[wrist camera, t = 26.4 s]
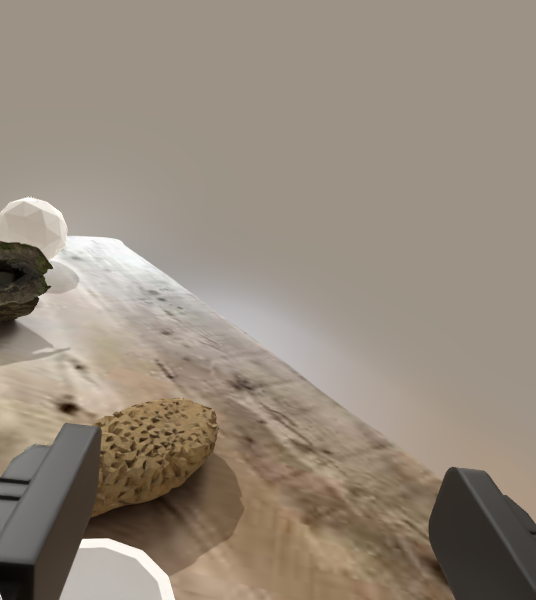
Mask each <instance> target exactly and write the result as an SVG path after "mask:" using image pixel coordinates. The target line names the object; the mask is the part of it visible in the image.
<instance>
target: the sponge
mask: <svg viewBox="0 0 536 600" xmlns="http://www.w3.org/2000/svg"><path fill="white" fill-rule="evenodd" d="M113 415H114V416H105V417H103V418H101V419H100V420H98V421H97V422H96V423H95V424H94V425H92V426H96V427H101V430H102V438H101V452H100V466H99V480H98V490H97V495H96V500H95V504H94V508H93V511H92V514H91V517H95V516H98V515H100V514H102V513H105V512H107V511H110V510H112V509H114V508H119V507H122V506H125V505H131V504H139V503H143V502H147V501H150V500H153V499H155V498H158V497H160V496H162V495H164V494H166V493H169V491H170V490H171V489H172V488H176V487H178V486H181V485H182V484H183V483H184V482H185V481H186V479H187V478H189V477H190V476H191V475H192V474H193V473H194V472H195V471H196V470H197V469H198V468H199V467H200V466H202V465H203V464H204V463H205V461H206V459H207V457H208V456H209V455H210V453H211V452H213V450H214V446H215V442H216V439H217V433H218V429H219V428H218V427H217V426H218V425H216V424H217V423H216V414H215V412H214V410H213V409H211V408H208V407H205V406H203V405H200V404H197V403H194V402H192V401H191V400H189V399H185V398H183V399H180V398H175V399H158V400H155V401H150V402H146V403H143V404H137V405H134V406H131V407H128V408H127V409H125V410H123V411H120V412H115V413H114V414H113ZM53 442H54V441H53ZM53 442H51V443H50V444H48V445H46V446H51V445H52V444H53ZM35 445H40V444H35ZM30 447H31V446H29V447H27V448H26V449H25V450H27V449H28V448H30ZM25 450H24V451H25Z"/></svg>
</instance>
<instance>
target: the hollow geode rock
mask: <svg viewBox="0 0 536 600" xmlns="http://www.w3.org/2000/svg"><path fill="white" fill-rule="evenodd" d="M47 269H53V267H52V265H51V264H50V263H49V262H48V260H47V258H46V257H45V255H44V254H43V253H42V252H41V250H40V249H39V248H37V247H35V246H31V245H28V244H21V243H20V242H10V243H7V242H3V241H0V322H3V321H7V320H12V319H17V318H18V317H21V316H25V315H28V314H30V313H31V312H32V311H33V310H34V308H35V307H36V305H37V303H38V301H39V298H38V296H40V295H42V294H44V293H46V291H47V290H48V289H49V288H51V286H47V284H46V282H45V278H44V276H43V275H44V274H45V273H47Z"/></svg>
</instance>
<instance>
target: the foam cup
mask: <svg viewBox="0 0 536 600" xmlns="http://www.w3.org/2000/svg"><path fill="white" fill-rule="evenodd" d="M59 600H175V598H174V595H173V591H172V588H171V584H170V581H169V577H168V575H167V574H166V573H165V572H164V571H163V570H162V569H161V568H160V567H159V566H158V565H157V564H156V563H155V562H154V561H153V560H152V559H151V558H150V557H149V556H148V555H147V554H146V553H145V552H144V551H142V550H139V549H137V548H134V547H131V546H128V545H125V544H122V543H120V542H117V541H114V540H111V539H108V538H106V539H82V541H81V543H80V546H79V549H78V551H77V554H76V557H75V559H74V562H73V564H72V567H71V570H70V572H69V575H68V578H67V580H66V583H65V585H64V588H63V591H62V593H61V596H60V599H59Z"/></svg>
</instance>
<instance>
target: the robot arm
mask: <svg viewBox="0 0 536 600" xmlns="http://www.w3.org/2000/svg"><path fill="white" fill-rule="evenodd" d="M101 438H102V430H101V427H96V426H87V425H78V424H69V423H65V424H64V425H63V427H62V428H61V430H60V432H59V433H58V435H57V437H56V439H55V440H54V442H53V444H52V445H51V446H45V445H35V444H34V445H32V446H31V447H30V448H28V449H27V450H25V451H24V452H23V453H21V454H20V455H18V456H17V457H15V458H14V459H13V460H12V461H11V463H10V464H9V466H8V467H7V469H6V470H5V472H4V473H3V475H2V476H1V478H0V600H59V599H60V596H61V593H62V591H63V588H64V585H65V583H66V580H67V578H68V575H69V572H70V570H71V567H72V564H73V562H74V559H75V557H76V554H77V551H78V549H79V546H80V543H81V541H82V538H83V536H84V533H85V530H86V528H87V525H88V522H89V520H90V517H91V514H92V511H93V508H94V504H95V500H96V495H97V490H98V480H99V466H100V452H101ZM429 539H430V543H431V546H432V549H433V551H434V553H435V556H436V558H437V560H438V562H439V564H440V567H441V569H442V571H443V573H444V575H445V577H446V580H447V582H448V584H449V586H450V588H451V591H452V593H453V595H454V597H455V599H456V600H536V524H535V523H534V521H533V520H532V519H531V517H530V516H529V515H528V513H527V512H526V511H524V510H523V509H522V508H521V507H520V506H518V505H517V504H516V503H515V502H514V501H513V500H511V499H510V498H509V497H508V496H507V495H503V494H502V493H501V491H500V490H499V489H498V487H497V486H496V485H495V483H494V482H493V480H492V479H491V477H490V476H489V475H488V474H487V473H486V472H485V471H482V470H474V469H464V468H456V467H451V468H449V469H448V471H447V472H446V474H445V477H444V479H443V482H442V485H441V488H440V491H439V493H438V496H437V499H436V502H435V505H434V508H433V510H432V513H431V516H430V520H429Z"/></svg>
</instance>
